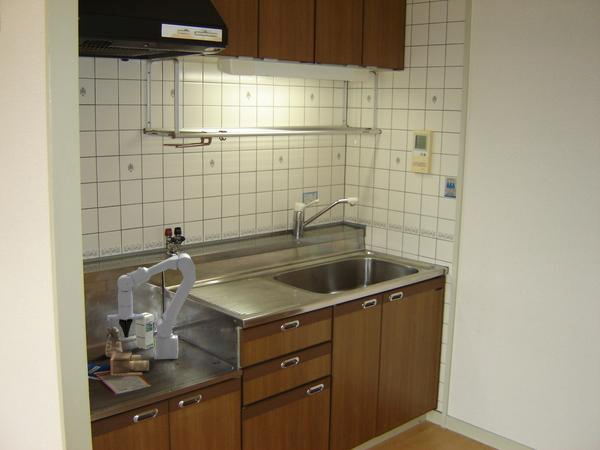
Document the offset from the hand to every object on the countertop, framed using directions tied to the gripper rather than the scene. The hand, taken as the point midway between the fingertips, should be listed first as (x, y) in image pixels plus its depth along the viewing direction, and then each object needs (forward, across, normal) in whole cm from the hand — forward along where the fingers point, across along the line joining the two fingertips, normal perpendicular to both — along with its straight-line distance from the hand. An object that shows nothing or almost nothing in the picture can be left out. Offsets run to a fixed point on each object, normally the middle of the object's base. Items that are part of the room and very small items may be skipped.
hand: (126, 337), depth 289 cm
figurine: (+10, -6, +6) cm, 13 cm away
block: (+9, 0, -13) cm, 16 cm away
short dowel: (+10, +2, -4) cm, 11 cm away
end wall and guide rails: (+9, +2, -13) cm, 16 cm away
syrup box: (+10, +6, +15) cm, 19 cm away
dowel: (+10, +4, -13) cm, 17 cm away
